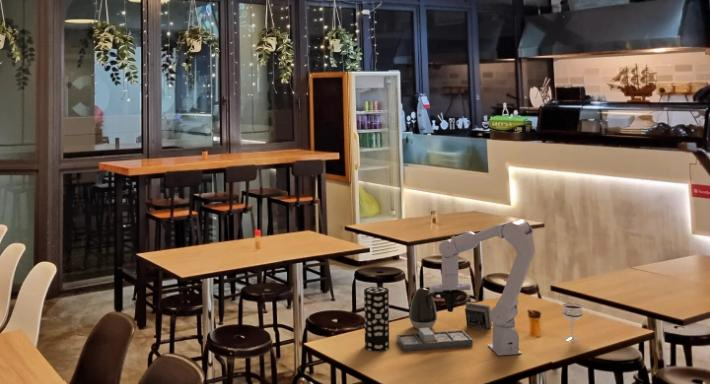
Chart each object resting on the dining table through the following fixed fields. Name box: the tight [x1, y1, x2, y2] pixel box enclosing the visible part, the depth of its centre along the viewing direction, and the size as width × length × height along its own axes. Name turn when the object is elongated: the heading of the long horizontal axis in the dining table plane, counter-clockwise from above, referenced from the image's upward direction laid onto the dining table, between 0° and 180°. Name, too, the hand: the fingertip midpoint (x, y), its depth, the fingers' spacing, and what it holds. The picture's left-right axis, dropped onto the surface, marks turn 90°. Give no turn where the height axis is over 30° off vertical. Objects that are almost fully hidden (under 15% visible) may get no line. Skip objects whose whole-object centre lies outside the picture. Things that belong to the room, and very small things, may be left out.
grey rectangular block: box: [418, 328, 434, 343], centre depth 212 cm, size 7×4×4 cm, turn 9°
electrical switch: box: [464, 301, 493, 331], centre depth 229 cm, size 9×5×9 cm, turn 57°
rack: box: [396, 329, 474, 353], centre depth 213 cm, size 10×24×2 cm, turn 100°
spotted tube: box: [363, 286, 390, 352], centre depth 210 cm, size 8×8×20 cm
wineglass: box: [562, 302, 584, 343], centre depth 215 cm, size 7×7×12 cm
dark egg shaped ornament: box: [408, 287, 438, 330], centre depth 229 cm, size 10×10×15 cm
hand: (450, 311), depth 217 cm, fingers closed
